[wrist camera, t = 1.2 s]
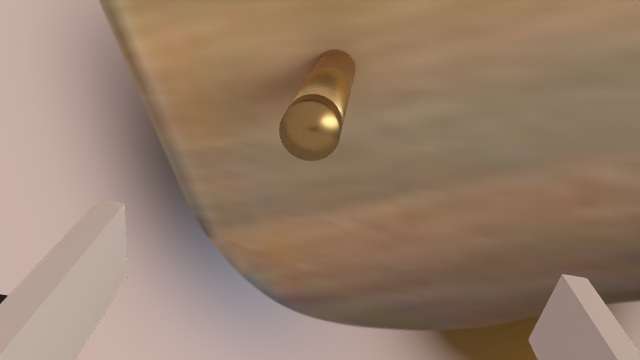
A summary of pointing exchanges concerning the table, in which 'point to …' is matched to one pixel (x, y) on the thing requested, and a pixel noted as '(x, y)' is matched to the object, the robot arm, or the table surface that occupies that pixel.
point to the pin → (319, 108)
